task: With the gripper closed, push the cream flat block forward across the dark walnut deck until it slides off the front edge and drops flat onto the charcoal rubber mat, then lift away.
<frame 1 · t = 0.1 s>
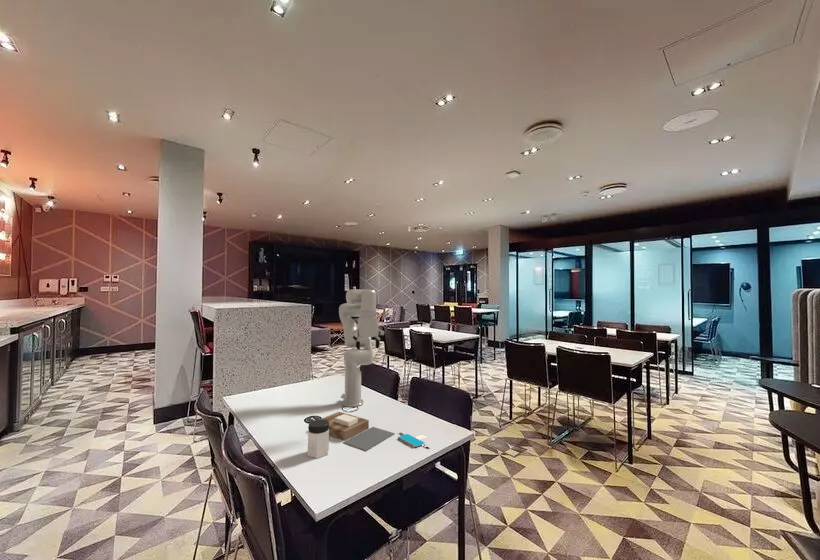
hand: (367, 348, 166), 37 cm above the table, tool pointing down, fingers open, 9 cm apart
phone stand: (414, 441, 147), on the table
mat: (369, 438, 149), on the table
deck: (341, 429, 158), on the table
cream flat block: (346, 422, 157), point 4 cm above the table, touching deck
jar: (318, 453, 135), on the table
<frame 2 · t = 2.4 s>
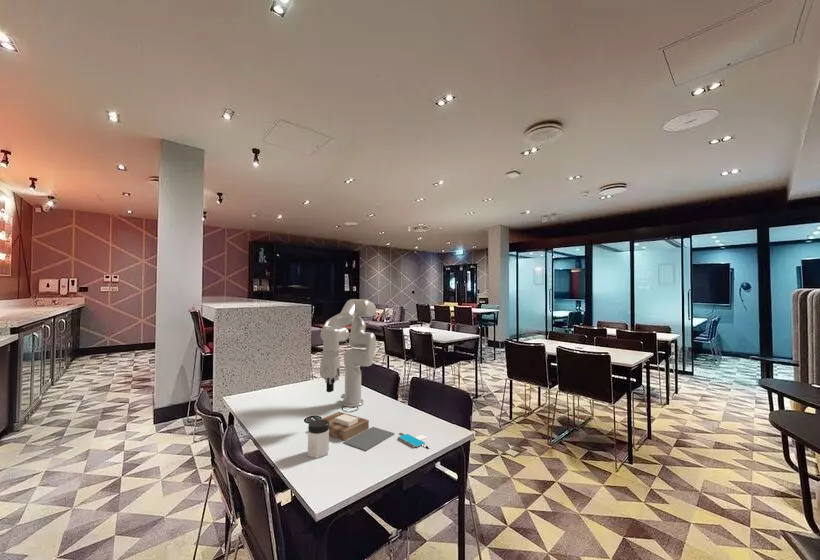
hand: (330, 391, 163), 17 cm above the table, tool pointing down, fingers closed
nothing on the table moved.
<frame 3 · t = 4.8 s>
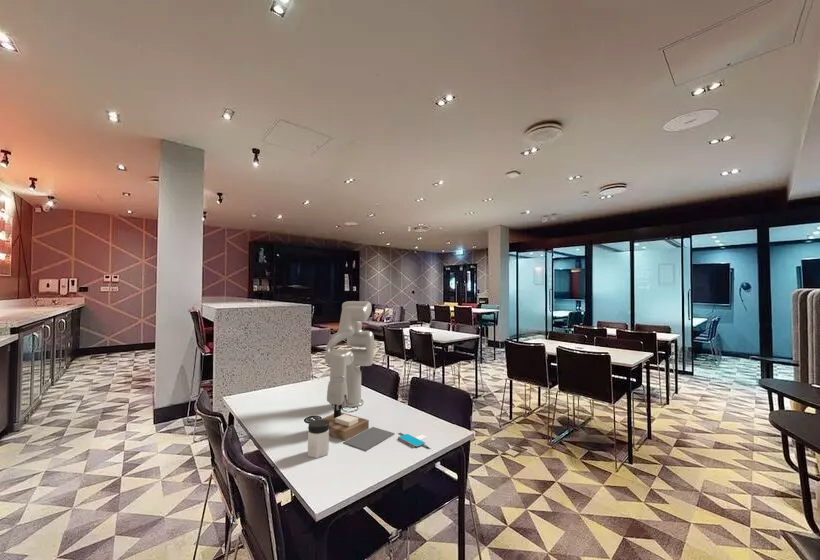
hand: (337, 417, 160), 5 cm above the table, tool pointing down, fingers closed
cream flat block: (346, 422, 157), point 4 cm above the table, touching gripper
everything else where it was.
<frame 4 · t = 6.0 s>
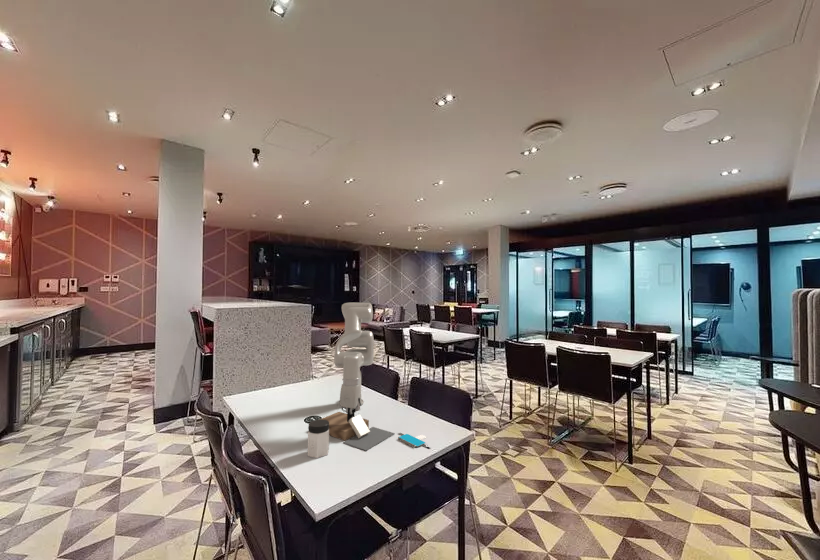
hand: (350, 421, 155), 5 cm above the table, tool pointing down, fingers closed
cream flat block: (358, 427, 152), point 3 cm above the table, tilted 43°, touching gripper
everything else where it was.
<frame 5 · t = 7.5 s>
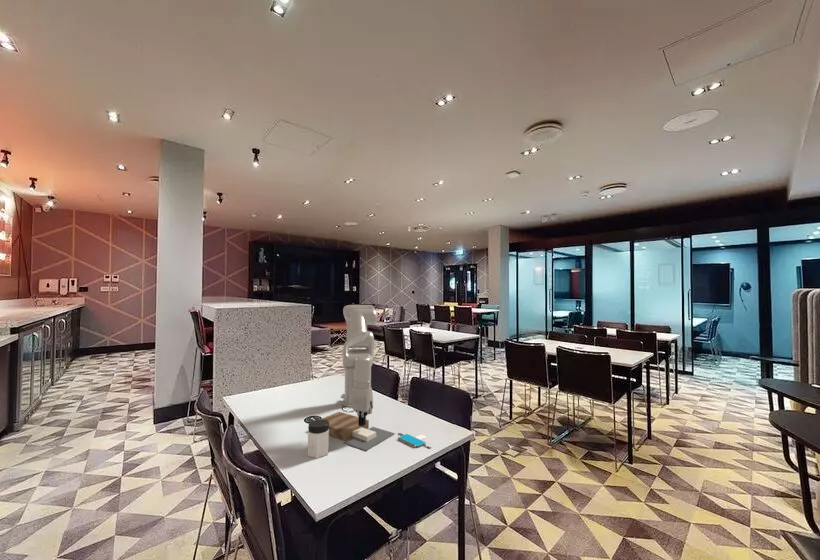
hand: (362, 424, 151), 5 cm above the table, tool pointing down, fingers closed
cream flat block: (364, 436, 150), resting on mat
everything else where it was.
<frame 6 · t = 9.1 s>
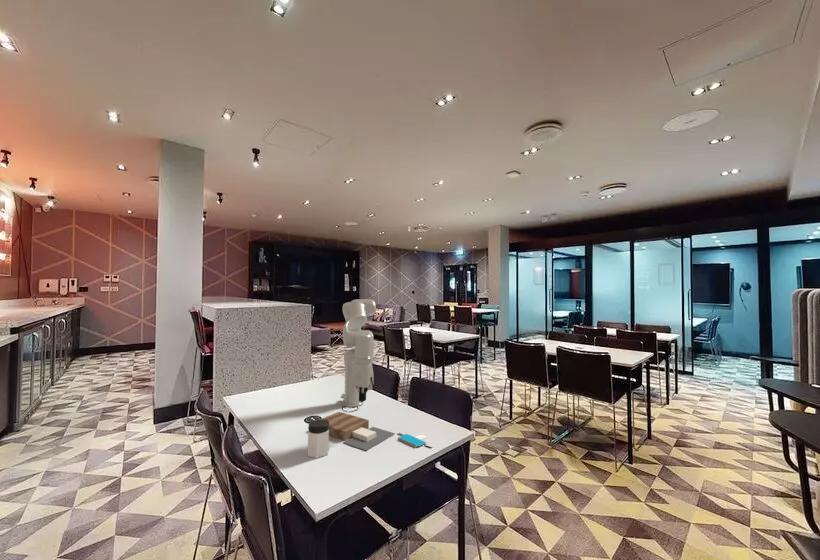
hand: (362, 400, 152), 16 cm above the table, tool pointing down, fingers closed
nothing on the table moved.
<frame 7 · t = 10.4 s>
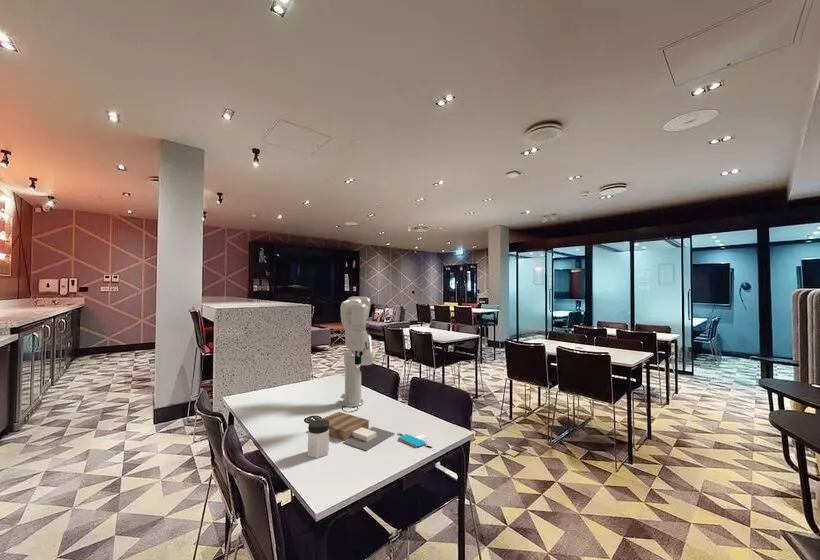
hand: (358, 363, 170), 29 cm above the table, tool pointing down, fingers closed
nothing on the table moved.
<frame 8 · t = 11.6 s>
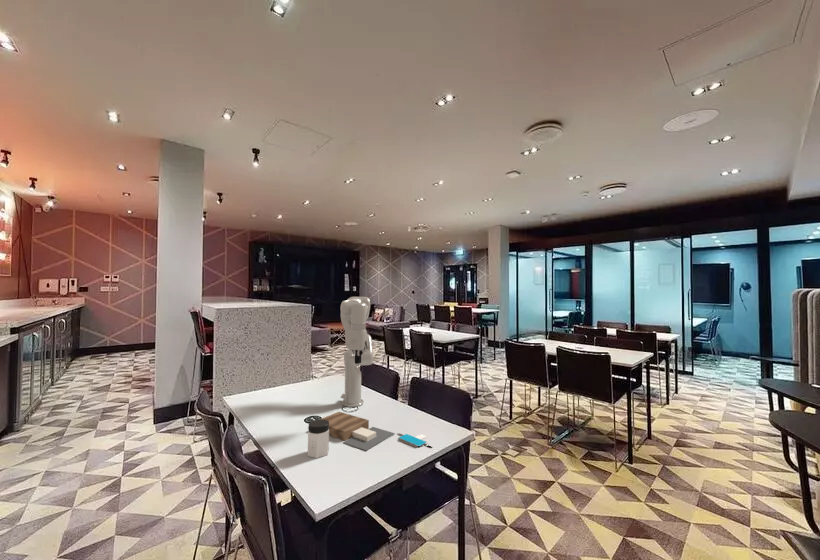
hand: (357, 363, 170), 29 cm above the table, tool pointing down, fingers closed
nothing on the table moved.
at the end: cream flat block resting on mat; cream flat block inside the target area on the mat (2.8 cm from its centre), point 0.4 cm above the mat's base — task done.
